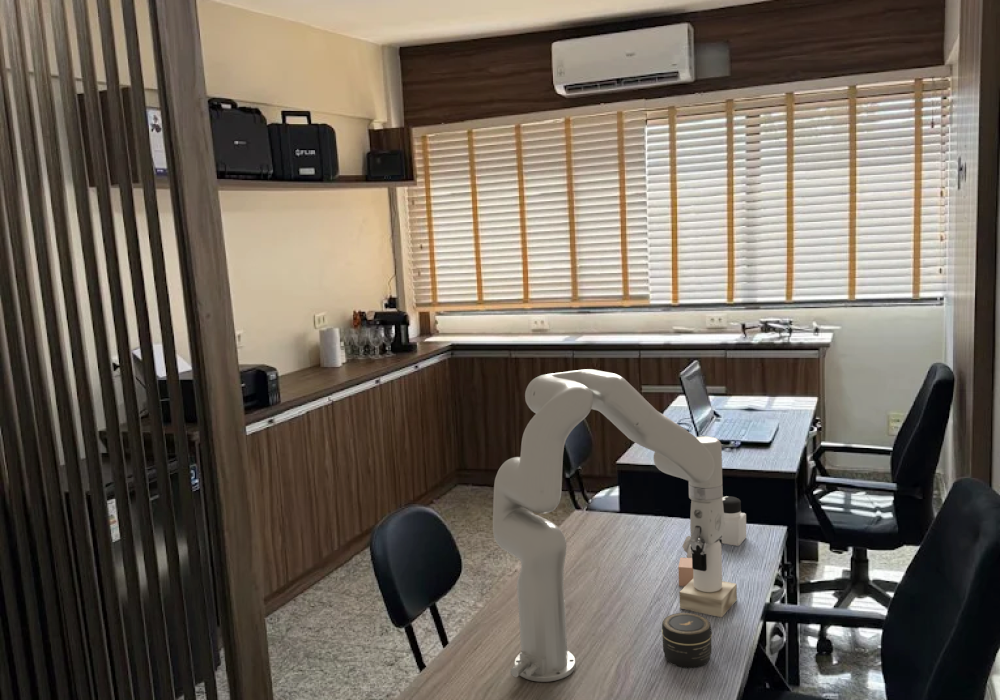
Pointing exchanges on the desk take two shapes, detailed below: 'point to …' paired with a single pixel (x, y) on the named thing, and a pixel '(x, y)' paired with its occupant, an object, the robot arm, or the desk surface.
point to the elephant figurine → (687, 547)
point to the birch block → (708, 599)
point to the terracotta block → (685, 571)
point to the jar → (687, 640)
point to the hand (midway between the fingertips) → (707, 562)
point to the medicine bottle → (733, 521)
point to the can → (710, 570)
